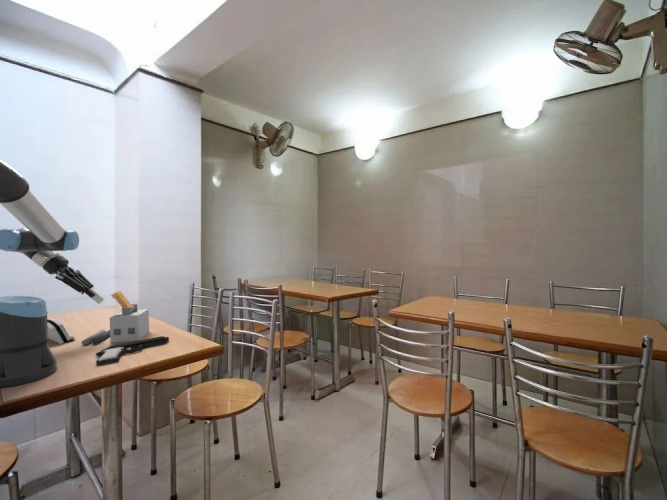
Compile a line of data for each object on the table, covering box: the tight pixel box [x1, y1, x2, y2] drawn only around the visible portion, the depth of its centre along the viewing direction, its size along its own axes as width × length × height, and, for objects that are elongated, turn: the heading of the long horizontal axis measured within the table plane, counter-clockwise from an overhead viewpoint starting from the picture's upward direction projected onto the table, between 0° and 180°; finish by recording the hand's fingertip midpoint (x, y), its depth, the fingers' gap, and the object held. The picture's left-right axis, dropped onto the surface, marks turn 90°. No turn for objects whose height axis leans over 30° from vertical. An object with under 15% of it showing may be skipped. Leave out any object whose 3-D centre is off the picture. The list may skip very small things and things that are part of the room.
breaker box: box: [109, 303, 150, 344], centre depth 128 cm, size 10×12×13 cm
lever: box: [110, 290, 136, 312], centre depth 128 cm, size 2×5×10 cm
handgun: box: [95, 335, 170, 366], centre depth 111 cm, size 3×23×15 cm
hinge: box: [47, 317, 76, 345], centre depth 126 cm, size 17×5×10 cm, turn 58°
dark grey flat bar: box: [81, 329, 110, 346], centre depth 126 cm, size 5×14×2 cm, turn 14°
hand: (102, 301), depth 126 cm, fingers closed
